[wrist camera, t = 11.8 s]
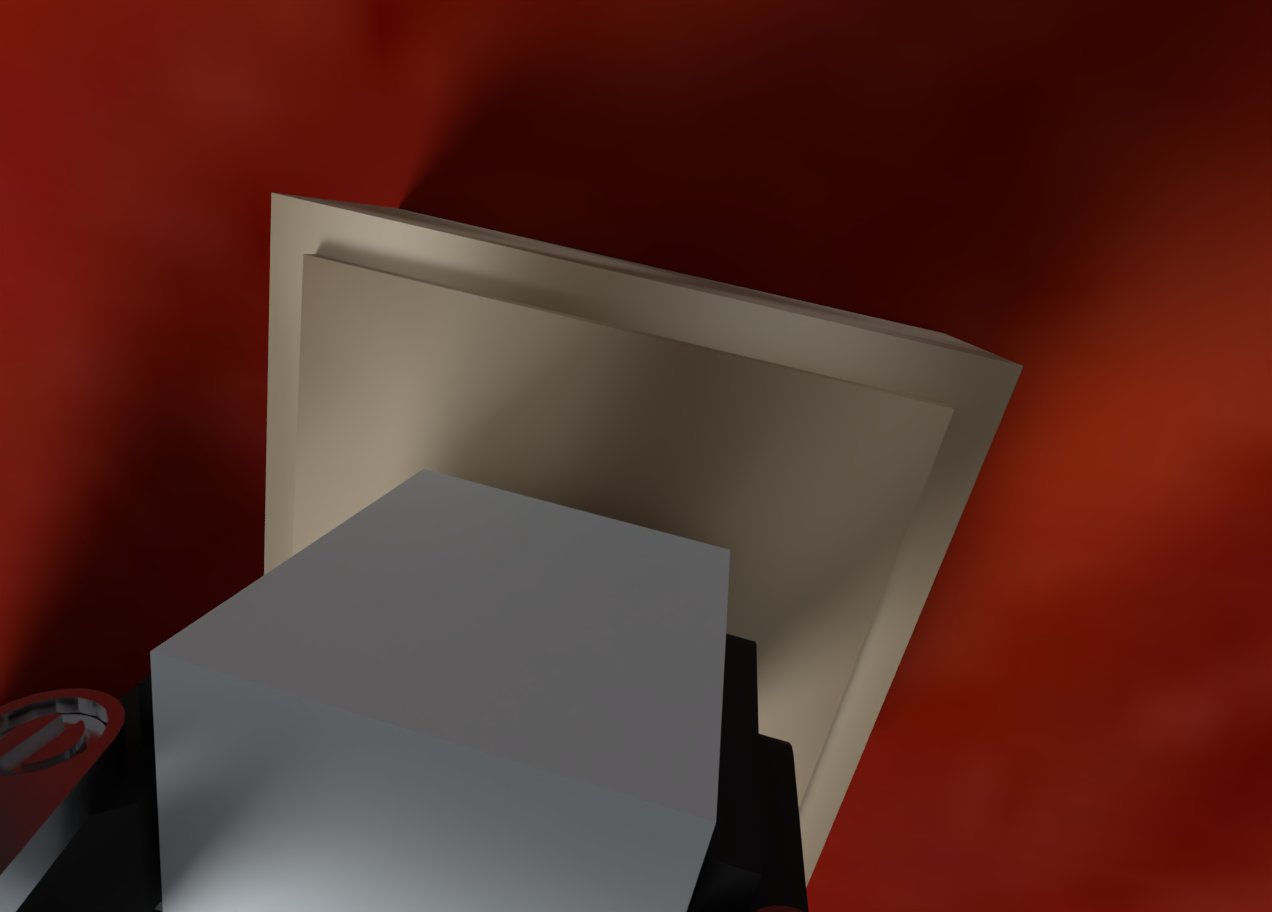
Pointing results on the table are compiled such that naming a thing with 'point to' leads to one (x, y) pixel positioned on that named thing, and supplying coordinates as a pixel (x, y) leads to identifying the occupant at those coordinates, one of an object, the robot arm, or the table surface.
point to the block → (448, 716)
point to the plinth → (639, 433)
